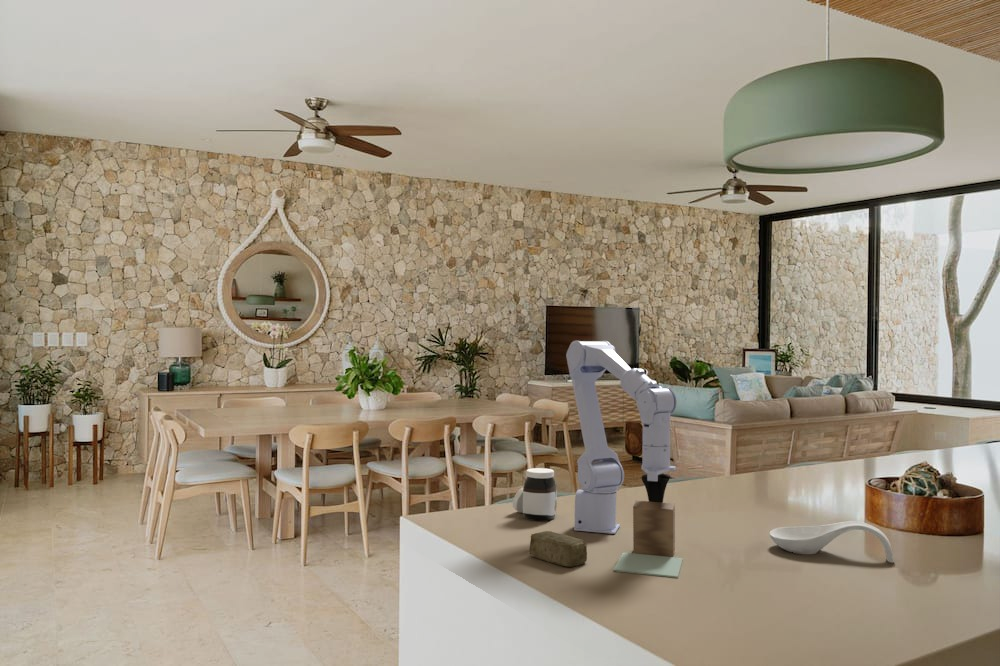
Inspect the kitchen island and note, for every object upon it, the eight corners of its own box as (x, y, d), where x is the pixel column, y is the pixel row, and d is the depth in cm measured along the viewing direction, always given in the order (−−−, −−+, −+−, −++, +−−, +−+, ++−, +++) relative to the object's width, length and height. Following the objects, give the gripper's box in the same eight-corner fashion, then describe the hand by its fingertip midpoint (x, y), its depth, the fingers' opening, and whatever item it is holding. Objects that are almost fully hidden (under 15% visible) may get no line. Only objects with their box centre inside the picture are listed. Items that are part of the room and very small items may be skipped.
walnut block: (633, 553, 153) (633, 506, 152) (636, 546, 157) (635, 500, 156) (673, 557, 151) (672, 509, 150) (674, 550, 154) (674, 503, 154)
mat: (613, 571, 141) (613, 569, 141) (623, 553, 153) (623, 552, 153) (677, 577, 138) (677, 576, 138) (682, 559, 149) (682, 558, 149)
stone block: (570, 570, 142) (570, 544, 142) (526, 557, 150) (526, 533, 150) (589, 564, 146) (589, 538, 146) (545, 552, 154) (545, 528, 155)
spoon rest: (767, 554, 154) (767, 520, 154) (770, 540, 165) (770, 508, 165) (896, 569, 145) (896, 533, 145) (890, 553, 156) (890, 519, 156)
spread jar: (549, 523, 177) (550, 475, 177) (504, 519, 181) (505, 471, 181) (561, 512, 189) (562, 466, 189) (519, 508, 192) (519, 464, 192)
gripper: (672, 450, 148) (672, 519, 148) (678, 441, 162) (678, 503, 162) (637, 449, 150) (636, 516, 150) (645, 439, 164) (645, 501, 164)
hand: (655, 509), depth 156 cm, fingers closed
